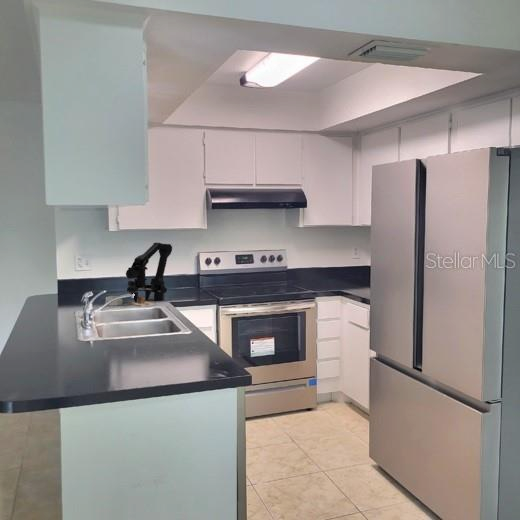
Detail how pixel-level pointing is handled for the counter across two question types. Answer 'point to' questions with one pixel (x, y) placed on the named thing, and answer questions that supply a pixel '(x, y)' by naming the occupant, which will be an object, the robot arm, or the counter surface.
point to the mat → (139, 306)
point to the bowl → (117, 302)
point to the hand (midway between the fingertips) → (141, 301)
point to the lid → (141, 302)
